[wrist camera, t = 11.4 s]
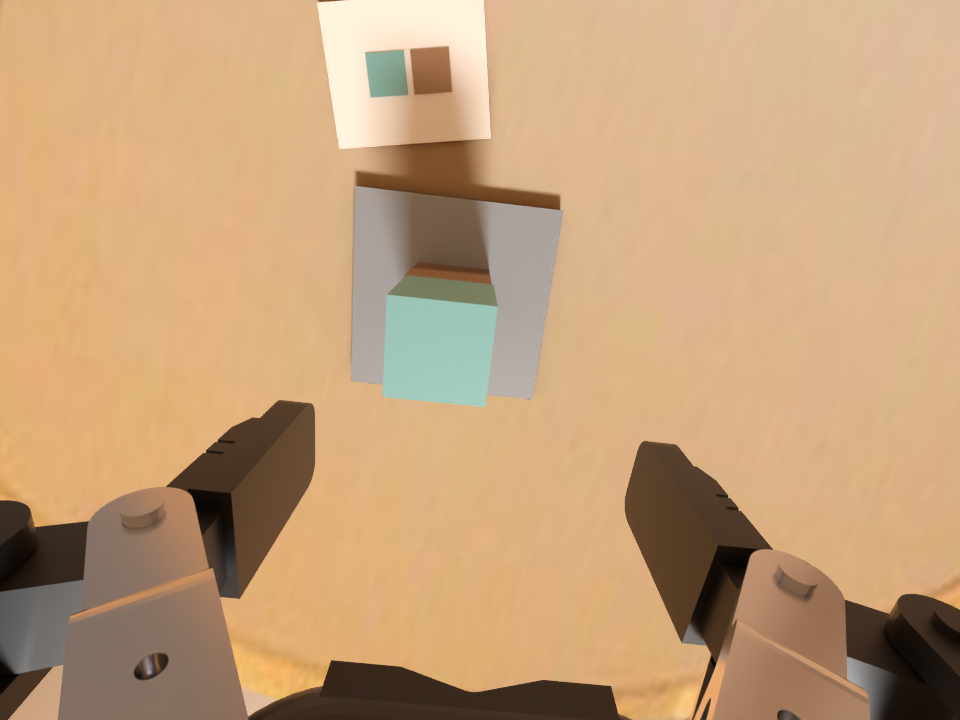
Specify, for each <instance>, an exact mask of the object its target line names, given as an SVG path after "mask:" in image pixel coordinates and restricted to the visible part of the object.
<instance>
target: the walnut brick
mask: <svg viewBox="0 0 960 720" xmlns="http://www.w3.org/2000/svg"><path fill="white" fill-rule="evenodd" d="M406 275H412V276H421V277H430V278H439V279H448V280H457V281H467V282H476V283H485V284H492V283H491V277H490V271H489V270H484V269H476V268H467V267H458V266H449V265H440V264H431V263H422V262H418V263H417V264H416V265H415V266H414V267H413V268H412V269H410V270H409V271H408V272H407V273H406V274H405V276H406Z"/></svg>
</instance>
